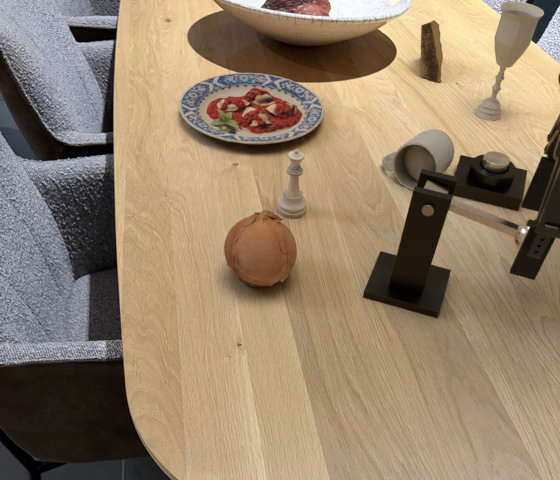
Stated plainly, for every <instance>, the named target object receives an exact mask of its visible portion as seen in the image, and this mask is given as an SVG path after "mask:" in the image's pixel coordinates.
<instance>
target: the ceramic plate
mask: <svg viewBox="0 0 560 480" xmlns="http://www.w3.org/2000/svg"><path fill="white" fill-rule="evenodd" d="M178 109H179V113H180V115H181V117H182V118H183V119H184V121H185V122H186V123H187V124H188V125H189V126H191V127H192V128H193V129H195V130H197V131H198V132H199V133H202V134H204V135H206V136H209V137H211V138H215V139H217V140H221V141H225V142H229V143H238V144H243V145H269V144H279V143H283V142H288V141H293V140H295V139H299V138H301V137H303V136H305V135H307V134H309V133H311V132H312V131H313V130H315V129H316V128H318V126H319V125H320V124H321V122H322V121H323V119H324V115H325V106H324V104H323V101H322V100H321V98H320V97H319V96H318V95H317V94H316V92H314V91H312V90H311V89H310V88H308V87H307V86H305V85H303V84H301V83H299V82H297V81H294V80H292V79H289V78H287V77H286V78H285V77H282V76H278V75H274V74H267V73H259V72H233V73H225V74H220V75H219V74H218V75H214V76H211V77H208V78H205V79H203V80H200V81H197V82H195V83H194V84H191V86H189V87H188V88H187V89H186V90H185V91H184V92H183V93H182V95H181V96H180V98H179V102H178Z"/></svg>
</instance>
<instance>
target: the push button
mask: <svg viewBox="0 0 560 480" xmlns="http://www.w3.org/2000/svg"><path fill="white" fill-rule="evenodd" d="M483 155H484V157H483V160H482V163H481V168H482V169H483V170H485V171H487V172H489V173H493V174H504V173H505V172H506V170H507V167H508V165H509V162H510V161H511V160H510V157H509V156H508V155H507V154H505V153H503V152H500V151H496V150H495V151H487V152H485V153H484V154H483Z"/></svg>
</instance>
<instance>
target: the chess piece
mask: <svg viewBox="0 0 560 480" xmlns="http://www.w3.org/2000/svg"><path fill="white" fill-rule="evenodd" d="M287 158H288V160H289V161H290V164H289V166H287V167H286V174H287V175H289V181H288V185H287V188H286V189H285V190H284V191H283V194H282V195H280V196H279V198H278V200H277V206H276V209H277V212H278V214H279V215H280V216H282V217H284V218H287V219H299V218H302V217H303V216H305V214H306V213H307V203H308V202H307V200H306V198H305V197H304V196H303V192H302V191H301V190H300V177H301V176H302V175H304V168H303V167H302V166H301V163H302V162H303V160H304V159H305V153H303V152H302V151H300V150H299V149H298V148H295V149H294V150H291V151H289V152H288V153H287Z"/></svg>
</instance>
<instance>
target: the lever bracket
mask: <svg viewBox="0 0 560 480" xmlns="http://www.w3.org/2000/svg"><path fill="white" fill-rule="evenodd" d="M427 180H429V181H432V182H434V183H437V184H439V185H442V186H444V187H447V188H449V191H448V194H446V193H441V192H437V191H433V190H429V189H425V188H423V187H424V185H425V183H426V181H427ZM457 181H458V177H455V176H454V175H450V174H446V173H443V174H442V173H438V172H434V171H430V170H425V169H422V170H421V172H420V176H419V179H418V183H417V186H415V187H414V190H412V194H411V198H410V201H409V205H408V210H407V214H406V217H405V221H404V225H403V229H402V233H401V237H400V240H399V245H398V248H397V252H396V254H393V253H390V252H386V251H382V250H380V251H379V253H378V256H377V259H376V261H375V264H374V266H373V268H372V271H371V273H370V275H369V277H368V280H367V283H366V285H365V288H364V290H363V293H362V294H363V295H362V298H363V299H367V300H370V301H374V302H378V303H382V304H385V305H388V306H392V307H395V308H399V309H403V310H407V311H410V312H413V313H416V314H420V315H423V316H427V317H431V318H435V319H438V318H439V315H440V312H441V309H442V305H443V301H444V297H445V294H446V290H447V287H448V283H449V280H450V275H451V273H452V269H449V268H446V267H442V266H438V265H434V264H433V261H434V258H435V254H436V251H437V248H438V245H439V241H440V238H441V235H442V232H443V229H444V226H445V223H446V219H447V217H448V213H449V207H450V204H451V201H452V198H453V199H454V195H453V194H454V191H455V188H456V185H457Z"/></svg>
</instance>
